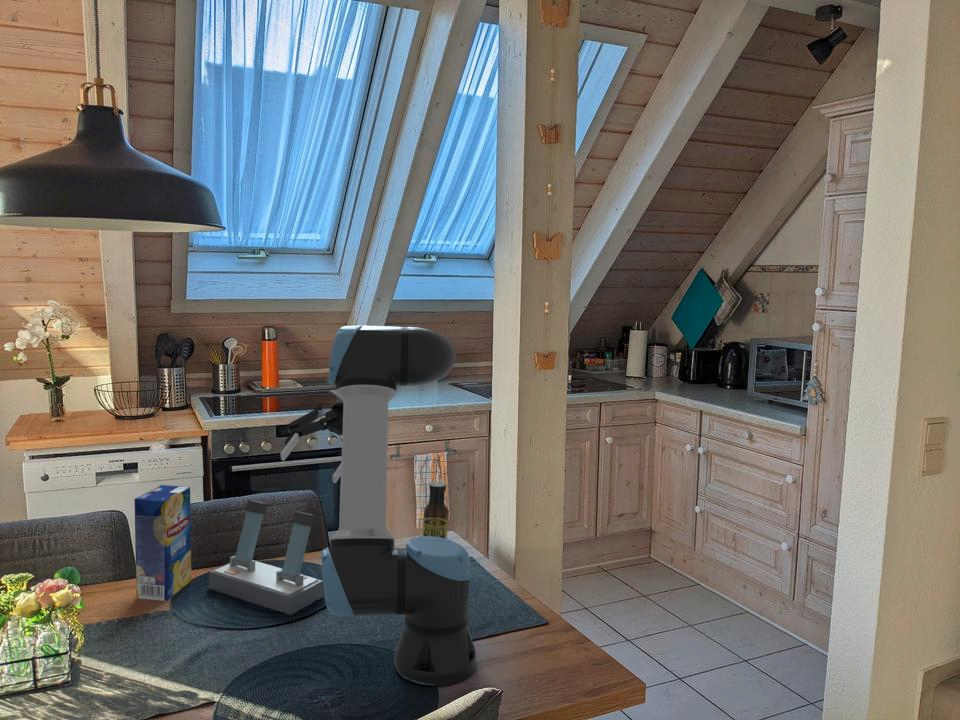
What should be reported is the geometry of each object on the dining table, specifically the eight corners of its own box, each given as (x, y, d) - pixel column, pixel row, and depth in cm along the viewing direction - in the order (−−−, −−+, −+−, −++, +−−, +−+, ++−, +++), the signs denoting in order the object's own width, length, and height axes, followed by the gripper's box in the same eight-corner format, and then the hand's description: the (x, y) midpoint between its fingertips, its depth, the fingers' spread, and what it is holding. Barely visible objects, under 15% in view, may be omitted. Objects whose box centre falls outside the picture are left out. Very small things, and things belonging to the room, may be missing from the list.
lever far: (251, 568, 172) (267, 504, 174) (244, 568, 170) (260, 503, 172) (238, 564, 173) (255, 500, 176) (231, 564, 171) (247, 499, 174)
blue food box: (191, 580, 174) (190, 486, 172) (166, 601, 164) (164, 501, 161) (162, 578, 175) (161, 484, 172) (136, 598, 164) (134, 499, 162)
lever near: (299, 582, 165) (315, 515, 168) (292, 582, 163) (308, 514, 166) (285, 578, 167) (301, 512, 169) (278, 578, 165) (294, 511, 167)
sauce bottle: (419, 565, 188) (421, 486, 185) (422, 555, 194) (424, 479, 192) (445, 566, 188) (448, 488, 185) (447, 557, 194) (450, 480, 191)
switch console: (322, 598, 168) (323, 570, 167) (291, 615, 159) (291, 586, 158) (242, 573, 179) (242, 547, 178) (209, 588, 170) (209, 561, 170)
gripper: (397, 431, 190) (356, 497, 177) (309, 394, 195) (262, 457, 181) (398, 413, 185) (355, 480, 171) (308, 376, 189) (259, 438, 175)
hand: (307, 468), depth 176 cm, fingers open, 13 cm apart
